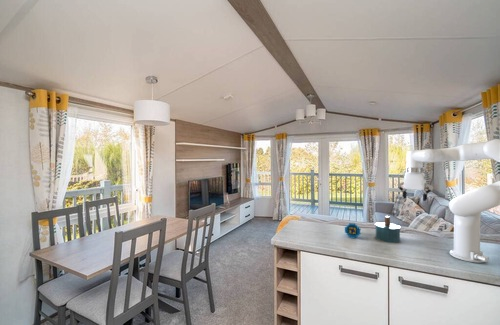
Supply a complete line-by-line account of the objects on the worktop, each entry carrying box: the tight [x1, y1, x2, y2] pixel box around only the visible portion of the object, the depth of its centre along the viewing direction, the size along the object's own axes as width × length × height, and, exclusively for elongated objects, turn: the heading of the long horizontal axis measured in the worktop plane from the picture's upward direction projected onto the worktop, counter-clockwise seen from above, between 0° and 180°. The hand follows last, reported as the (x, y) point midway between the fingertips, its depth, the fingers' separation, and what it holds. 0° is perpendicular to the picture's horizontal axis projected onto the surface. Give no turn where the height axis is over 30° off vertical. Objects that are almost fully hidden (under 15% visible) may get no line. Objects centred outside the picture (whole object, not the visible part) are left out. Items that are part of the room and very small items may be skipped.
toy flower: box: [344, 222, 362, 239], centre depth 145 cm, size 9×9×18 cm
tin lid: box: [374, 215, 401, 230], centre depth 136 cm, size 14×14×7 cm
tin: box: [375, 226, 401, 244], centre depth 136 cm, size 13×13×8 cm
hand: (414, 199), depth 129 cm, fingers open, 9 cm apart
